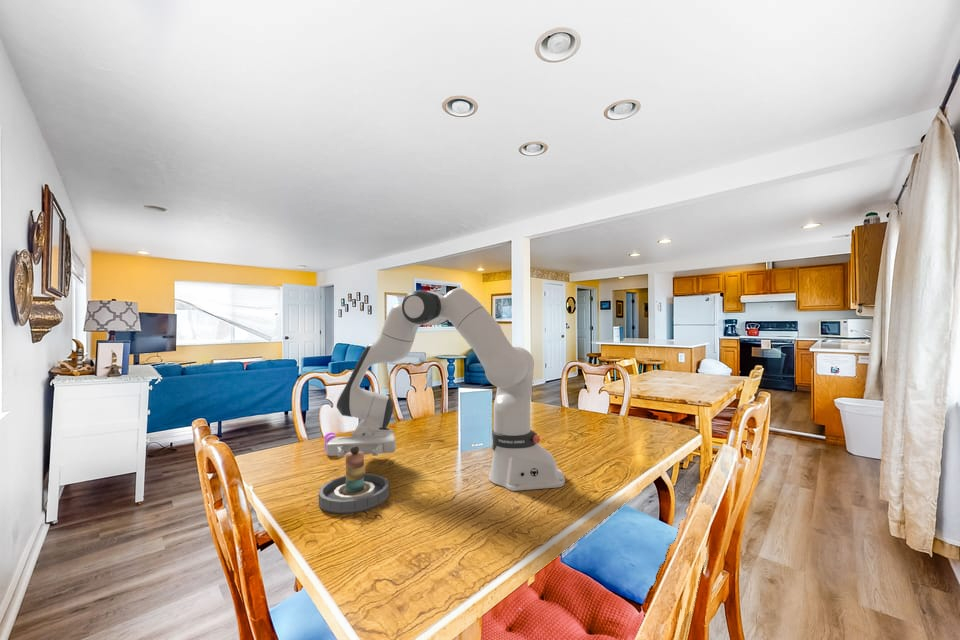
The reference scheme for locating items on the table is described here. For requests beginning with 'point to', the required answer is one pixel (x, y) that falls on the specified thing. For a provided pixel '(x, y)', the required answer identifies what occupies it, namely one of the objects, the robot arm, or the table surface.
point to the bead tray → (347, 504)
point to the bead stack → (354, 472)
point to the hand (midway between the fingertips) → (358, 453)
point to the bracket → (329, 438)
